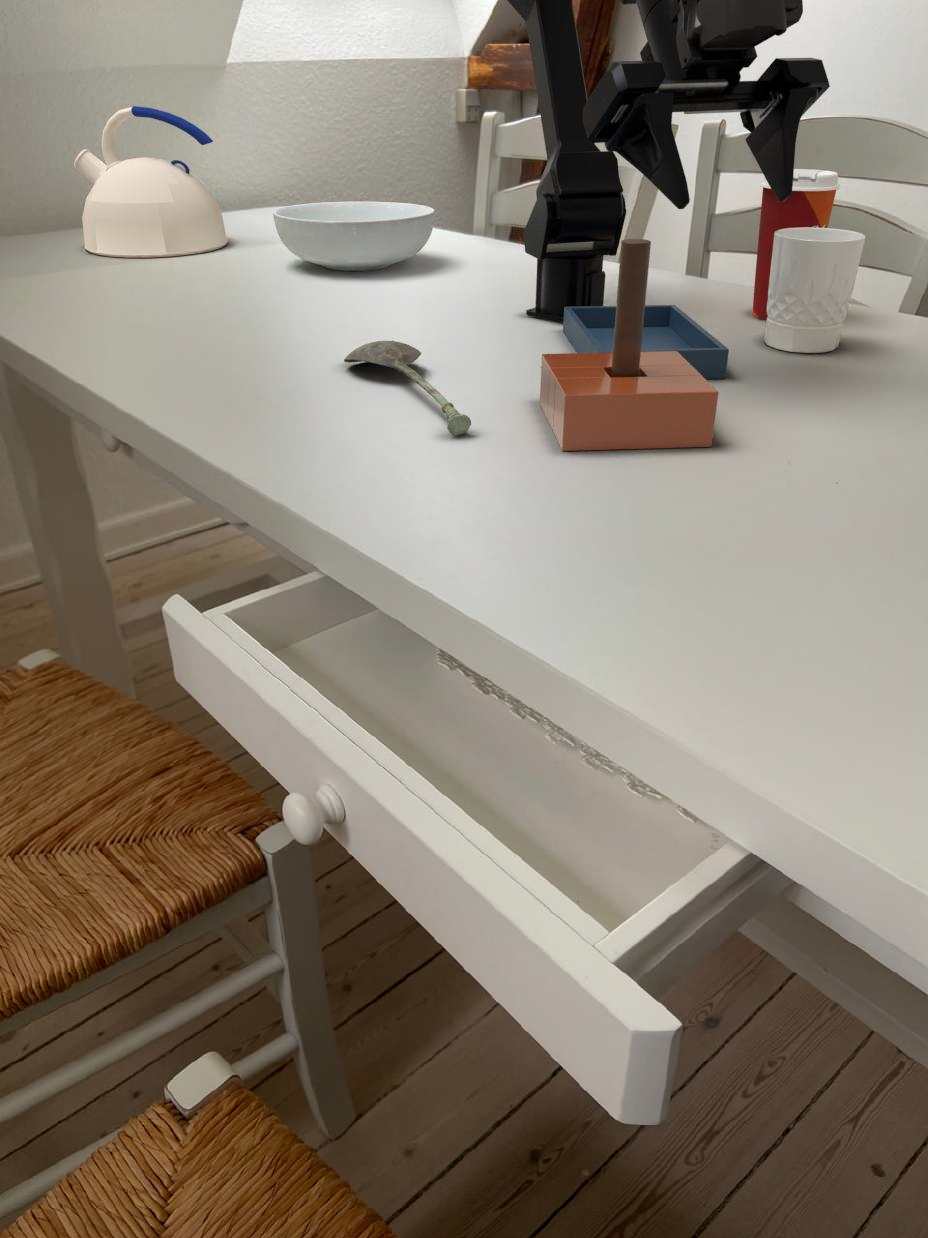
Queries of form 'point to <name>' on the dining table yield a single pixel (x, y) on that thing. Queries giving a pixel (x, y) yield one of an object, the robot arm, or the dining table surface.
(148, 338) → the dining table surface
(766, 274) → the paper cup
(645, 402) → the stick holder base
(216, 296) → the dining table surface
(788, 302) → the white cup
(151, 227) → the kettle
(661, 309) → the tray
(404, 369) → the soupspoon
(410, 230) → the serving bowl
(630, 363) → the walnut stick
